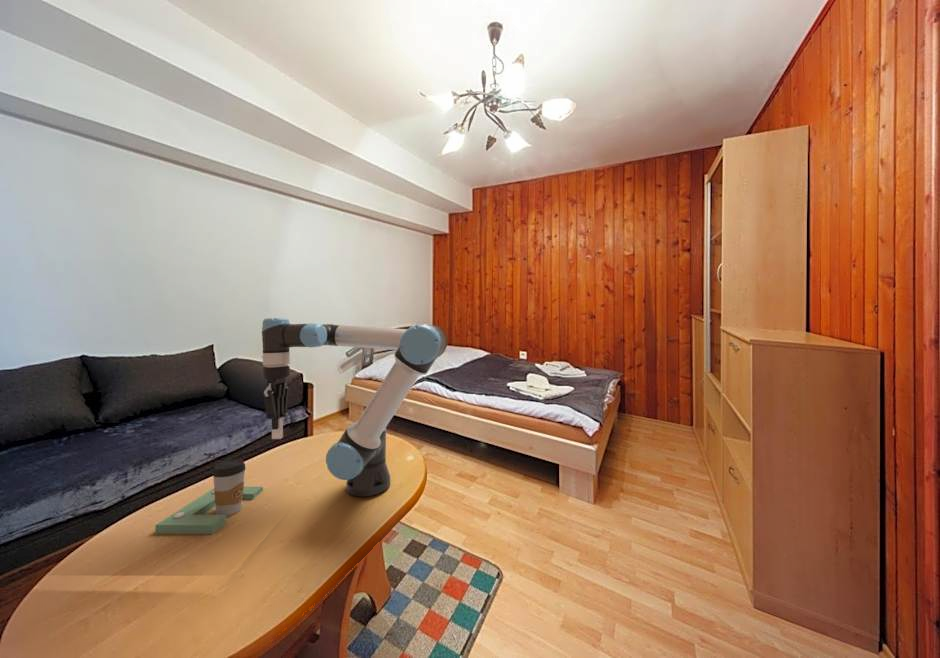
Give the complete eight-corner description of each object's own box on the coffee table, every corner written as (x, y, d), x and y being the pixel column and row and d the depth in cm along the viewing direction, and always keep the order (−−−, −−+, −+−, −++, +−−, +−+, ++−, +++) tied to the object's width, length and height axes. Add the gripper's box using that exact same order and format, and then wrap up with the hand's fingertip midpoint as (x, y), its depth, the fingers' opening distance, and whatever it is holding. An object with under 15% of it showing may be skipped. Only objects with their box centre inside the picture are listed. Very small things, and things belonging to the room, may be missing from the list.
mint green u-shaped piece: (262, 493, 112) (262, 484, 112) (212, 534, 90) (212, 523, 90) (216, 493, 112) (216, 484, 112) (155, 533, 90) (155, 522, 90)
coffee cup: (228, 520, 96) (229, 470, 96) (204, 518, 98) (205, 468, 98) (251, 505, 104) (252, 459, 104) (229, 503, 106) (230, 457, 106)
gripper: (275, 363, 111) (276, 432, 111) (251, 368, 98) (253, 445, 98) (297, 363, 111) (298, 431, 111) (277, 367, 98) (278, 444, 98)
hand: (277, 438), depth 104 cm, fingers closed
